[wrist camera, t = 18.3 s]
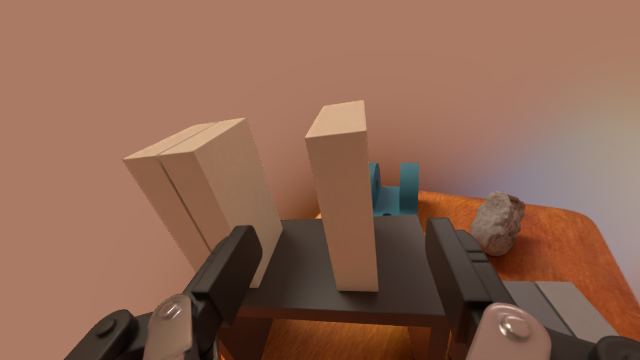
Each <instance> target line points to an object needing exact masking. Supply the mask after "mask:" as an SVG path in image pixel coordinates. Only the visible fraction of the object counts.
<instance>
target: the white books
mask: <svg viewBox="0 0 640 360" xmlns="http://www.w3.org/2000/svg"><path fill="white" fill-rule="evenodd" d="M122 160H123V162H124V163H125V165H126V167H127V168H128V169H129V171H130V173H131V174H132V176H133V177H134V179H135V180H136V182H137V183H138V185H139V186H140V188H141V189H142V191H143V193H144V194H145V196H146V197H147V199H148V200H149V202H150V203H151V205H152V206H153V208H154V209H155V210H156V212H157V214H158V215H159V217H160V219H161V220H162V221H163V223H164V225H165V226H166V228H167V229H168V231H169V232H170V234H171V235H172V237H173V238H174V240H175V241H176V243H177V245H178V246H179V248H180V249H181V251H182V252H183V254H184V255H185V257H186V258H187V260H188V261H189V263H190V264H191V266H192V267H193V269H194V271H195V272H196V273H197V272H198V270H199V269H200V267H201V266H202V265H203V263H205V260H206V259H207V258H208V256H209V255H211V252H212V251H213V249H214V248H215V246H216V245H217V244H218V243H219V242H220V241H221V240H223V239H224V238H225V237H226V236H229V234H230V233H231V231H232V230H233V228H234V227H235V226H238V225H252V226H253V227H254V228H255V231H256V233H257V236H258V238H259V241H260V243H261V246H262V249H263V255H262V260H261V262H260V264H259V266H258V269H257V271H256V273H255V275H254V277H253V280H252V282H251V284H250V286H249V288H258V287H259V285H260V283H261V280H262V278H263V275H264V273H265V271H266V268H267V266H268V263H269V261H270V259H271V256H272V254H273V251H274V249H275V247H276V244H277V242H278V239H279V237H280V235H281V232H282V230H283V227H282V224H281V221H280V218H279V215H278V212H277V209H276V206H275V203H274V200H273V197H272V194H271V191H270V188H269V185H268V182H267V179H266V176H265V173H264V170H263V167H262V163H261V160H260V157H259V154H258V152H257V148H256V145H255V142H254V139H253V136H252V133H251V130H250V127H249V124H248V121H247V118H240V119H233V120H227V121H221V122H213V123H206V124H199V125H194V126H192V127H190V128H188V129H185V130H183V131H181V132H179V133H177V134H175V135H173V136H171V137H168V138H166V139H164V140H162V141H160V142H158V143H156V144H154V145H152V146H149V147H147V148H145V149H143V150H141V151H139V152H137V153H135V154H132V155H131V156H128V157H126V158H124V159H122Z"/></svg>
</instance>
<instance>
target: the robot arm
mask: <svg viewBox="0 0 640 360" xmlns="http://www.w3.org/2000/svg"><path fill="white" fill-rule="evenodd" d="M425 252H426V257H427V261H428V264H429V267H430V270H431V273H432V276H433V279H434V282H435V285H436V288H437V291H438V294H439V297H440V300H441V303H442V306H443V309H444V312H445V315H446V318H447V321H448V324H449V327H450V330H451V333H452V336H453V339H454V342H455V343H461V344H466V346H467V349H468V354H467V357H466V360H640V342H638V341H636V340H633V339H630V338H626V337H622V336H613V335H610V336H605V337H602V338H601V339H600V340H599V341H598V342H597V343H593V342H590V341H586V340H583V339H580V338H577V337H573V336H570V335H567V334H563V333H560V332H557V331H554V330H552V329H549V328H547V327H545V326H543V325H542V324H541V323H540V322H539V321H538V320H537V319H536V318H535V317H534V316H532V315H531V314H530V313H528V312H527V311H525V310H523V309H521V308H519V307H518V305H517V304H516V303H515V301H514V300H513V298H512V296H511V295H510V293H509V292H508V290H507V288H506V287H505V285H504V283H503V282H502V280H501V279H500V277H499V275H498V274H497V272H496V271H495V269H494V267H493V266H492V264H491V263H489V259H488V258H487V256H486V255H485V253H483V250H482V248H481V247H480V245H479V243H478V242H477V240H476V239H475V238H474V237H473V236H471V235H470V234H469V233H468V232H466V231H465V230H455V229H454V227H453V225H452V223H451V221H450V220H449V218H447V217H446V218H428V219H427V224H426V238H425ZM262 255H263V249H262V246H261V243H260V241H259V238H258V236H257V233H256V231H255V228H254V227H253V226H252V225H238V226H235V227H234V228H233V230H232V231H231V233H230V234H229V236H226V237H225V238H224V239H223V240H221V241H220V242H219V243H218V244H217V245H216V246H215V248H214V249H213V251H212V252H211V255H209V256H208V258H207V259H206V260H205V263H203V265H202V266H201V267H200V269H199V270H198V272H197V273H196V274H195V276H194V277H193V279H192V280H191V282H190V283H189V284H188V286H187V287H186V289H185V290H184V291H183V293H181V294H176V295H174V296H171V297H170V298H168V299H166V300H165V301H164V302H162V303H161V304H160V305H159V306H158V307H157V308H156V309H155V311H154V312H150V313H147V314H143V315H140V316H136V317H134V316H133V315H132V314H131V313H130V312H129V311H128V310H124V309H123V310H118V311H115V312H113V313H111V314H109V315H108V316H106V317H104V318H103V319H102V320H100V321H99V322H98V323H97V324H96V325H95V326H94V327H93V328H92V329H91V330H90V331H89V332H88V333H87V334H86V336H85V337H84V338H83V339H82V340H81V341H80V342H79V343H78V344H77V346H76V347H75V348H74V349H73V350H72V351H71V352H70V353H69V354H68V356H67V357H66V358H65V359H64V360H221V353H220V345H219V338H218V335H217V333H218V330H219V328H220V327H228V328H231V326H232V324H233V322H234V320H235V317H236V315H237V313H238V311H239V309H240V306H241V304H242V302H243V300H244V297H245V295H246V293H247V291H248V289H249V286H250V284H251V282H252V280H253V277H254V275H255V273H256V271H257V269H258V266H259V264H260V262H261V260H262Z"/></svg>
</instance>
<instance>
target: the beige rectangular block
mask: <svg viewBox="0 0 640 360" xmlns="http://www.w3.org/2000/svg"><path fill="white" fill-rule="evenodd" d="M305 141H306V146H307V151H308V156H309V160H310V165H311V170H312V174H313V179H314V184H315V188H316V193H317V198H318V202H319V207H320V212H321V216H322V221H323V226H324V230H325V235H326V240H327V244H328V249H329V254H330V259H331V263H332V268H333V273H334V277H335V282H336V287H337V290H338V291H371V292H378V291H379V290H378V276H377V263H376V250H375V236H374V223H373V209H372V196H371V182H370V169H369V156H368V143H367V129H366V118H365V108H364V101H363V100H361V101H354V102H348V103H341V104H334V105H327V106H324V107H323V108H322V110H321V111H320V113H319V115H318V117H317V118H316V120H315V122H314V123H313V125H312V127H311V128H310V130H309V132H308V133H307V135H306V137H305Z"/></svg>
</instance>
